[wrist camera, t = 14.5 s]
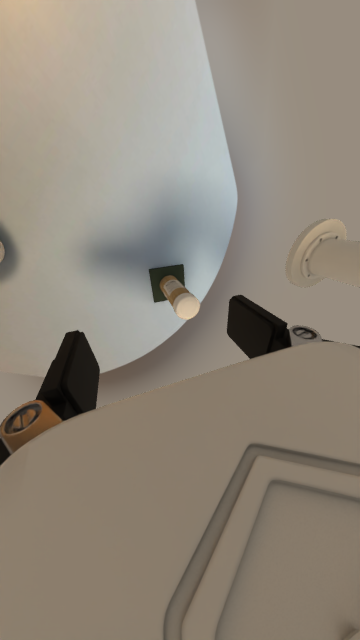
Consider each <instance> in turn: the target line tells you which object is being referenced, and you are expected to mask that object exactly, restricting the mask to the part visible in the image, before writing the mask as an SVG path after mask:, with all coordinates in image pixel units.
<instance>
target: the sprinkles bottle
mask: <svg viewBox="0 0 360 640" xmlns="http://www.w3.org/2000/svg"><path fill="white" fill-rule="evenodd" d="M160 288H161V290H162V292H163V293H164V295H165V296H166V298H167V299H168V300H169V302H170V303H171V305H172V306H173V309H174V311H175V313H176V314H177V316H178V317H180V318H181V319H190V318H192V317H194V316H195V315H196V314H197V313H198V311H199V308H200V303H199V301H198V299H197V298H196V297H195V296H194V295H193V294H191V293H190V292H189V291H188V290H187V289H186V288H185V287H184V286H183V285H182V284H181V283H180V282H179V281H178V280H177V279H176V278H175V277H174V276H171V275H169V276H165V277H164V278H163V279H162V280H161V282H160Z"/></svg>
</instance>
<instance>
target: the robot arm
mask: <svg viewBox="0 0 360 640" xmlns="http://www.w3.org/2000/svg"><path fill="white" fill-rule="evenodd" d="M300 270H301V273H302V275H303V276H304V277H305V278H308V279H316V278H318V277H320V276H322V277H325V278H329V279H332V280H336V281H339V282H342V283H346V284H349V285H353V286H356V287H359V288H360V242H359V241H349V240H341V238H340V236H339V235H338V234H337V233H335V232H325V233H323V234H321V235H319V236H318V237H316V238H315V239H314V240H313V241H312V242H311V243H310V245H309V246H308V247H307V249H306V251H305V252H304V255H303V257H302V260H301V265H300ZM286 327H287V323H286V322H284V321H282V320H281V319H279V318H278V317H276V316H275V315H273V314H271V313H270V312H268V311H266V310H265V309H263V308H262V307H260V306H259V305H257V304H255V303H254V302H252V301H250V300H249V299H247V298H245V297H244V296H243V295H237V296H233V297H232V298H231V299H230V301H229V313H228V324H227V334H228V335H229V337H230V338H231V339H232V340H233V341H234V342H235V343H236V344H237V345H238V346H239V347H240V349H242V351H243V352H244V353H245V354H246V355H247V356H248V357H249V358H250V359H249V360H246V361H243V362H239V363H236V364H233V365H230V366H227V367H223V368H220V369H217V370H214V371H211V372H207V373H204V374H201V375H198V376H195V377H192V378H188V379H185V380H182V381H179V382H176V383H173V384H170V385H167V386H163V387H161V388H157V389H154V390H151V391H148V392H145V393H142V394H139V395H135V396H132V397H129V398H126V399H123V400H120V401H117V402H114V403H111V404H108V405H105V406H102V407H99V408H97V409H96V401H97V392H98V382H99V373H100V369H99V365H98V363H97V361H96V358H95V356H94V354H93V352H92V350H91V347H90V345H89V343H88V341H87V339H86V337H85V334H84V333H83V332H79V331H78V330H77V331H72V332H68V333H66V334H65V337H64V339H63V341H62V344H61V346H60V348H59V351H58V353H57V355H56V358H55V360H53V361H52V363H51V366H50V368H49V370H48V372H47V375H46V377H45V379H44V382H43V384H42V386H41V389H40V391H39V393H38V395H37V397H36V400H33V401H29V402H27V403H25V404H22V405H21V406H19V407H18V408H16V409H15V410H13V411H12V412H11V413H10V414H9V415H8V416H7V417H6V418H5V419H4V420H3V422H2V424H1V425H0V640H360V346H355V345H350V344H346V343H340V342H334V341H329V340H323V339H321V336H320V334H319V333H318V332H317V331H316V330H314V329H312V328H309V327H306V326H298V325H297V326H292V327H290V329H287V328H286Z"/></svg>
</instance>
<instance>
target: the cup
mask: <svg viewBox="0 0 360 640" xmlns="http://www.w3.org/2000/svg"><path fill="white" fill-rule="evenodd" d="M4 255H5V251H4V247H3V244H2V242H1V241H0V263H1V261H2V260H3V258H4Z"/></svg>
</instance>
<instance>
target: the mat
mask: <svg viewBox="0 0 360 640" xmlns="http://www.w3.org/2000/svg"><path fill="white" fill-rule="evenodd" d="M149 273H150V279H151V286H152V292H153V298H154V302H160V301H165V300H168V299H167V298H166V296H165V295H164V293H163V292H162V290H161V288H160V282H161V280H162V279H163V278H164V277H165V276H169V275H171V276H174V277H175V278H176V279H177V280H178V281H179V282H180V283H181V284H182V285H183V286H184V287H185V282H184V265H183V264H182V265H175V266H168V267H162V268H155V269H149Z"/></svg>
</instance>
